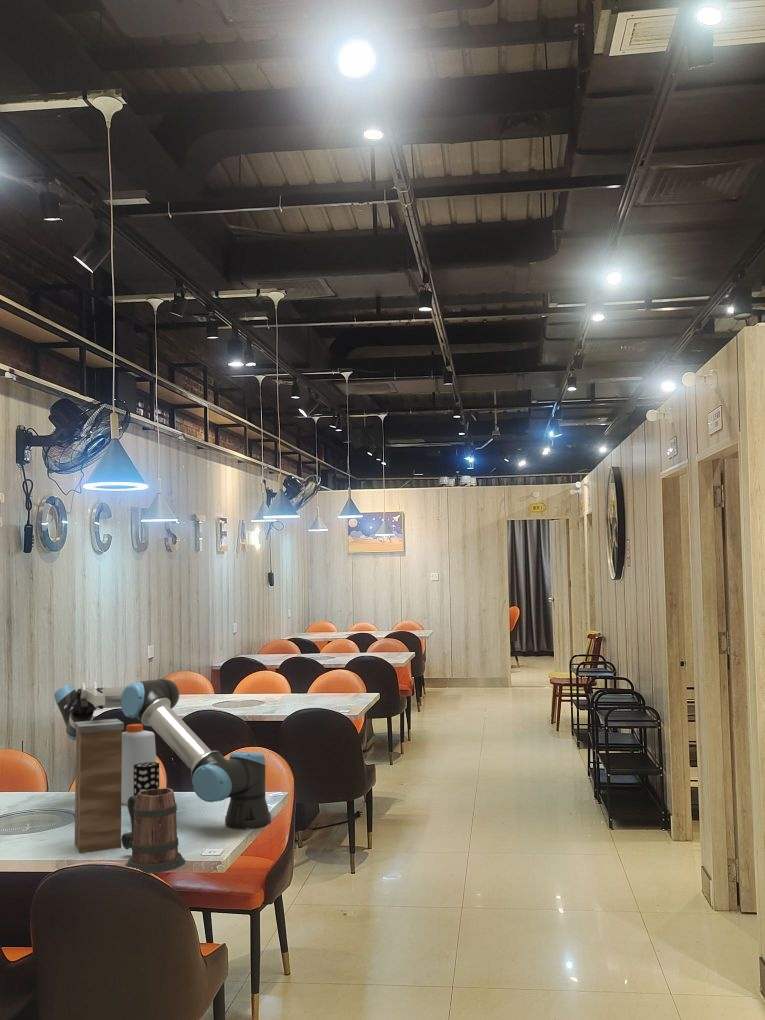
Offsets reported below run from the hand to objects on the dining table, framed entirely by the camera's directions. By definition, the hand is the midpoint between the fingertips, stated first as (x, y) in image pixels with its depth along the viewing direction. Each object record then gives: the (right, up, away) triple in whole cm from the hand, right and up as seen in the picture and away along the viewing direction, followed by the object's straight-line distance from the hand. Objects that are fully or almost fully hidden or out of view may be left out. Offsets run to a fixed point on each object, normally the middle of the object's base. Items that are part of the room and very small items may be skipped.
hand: (89, 685), depth 286 cm
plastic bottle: (+4, -51, +36) cm, 62 cm away
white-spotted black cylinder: (+20, -46, -3) cm, 51 cm away
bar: (+4, -3, -7) cm, 9 cm away
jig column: (+11, -44, -24) cm, 51 cm away
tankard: (+31, -42, -43) cm, 68 cm away
